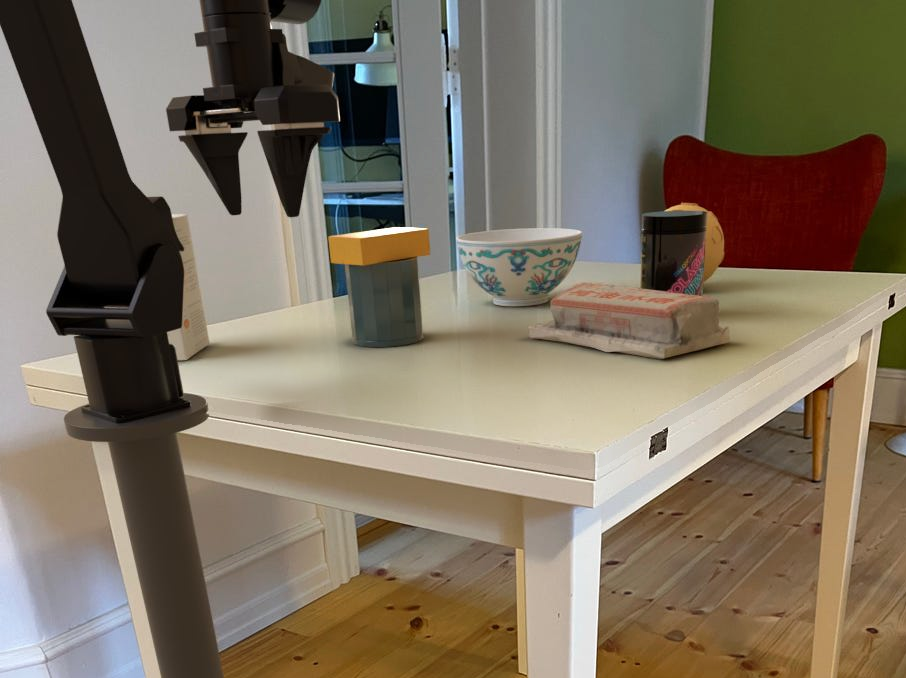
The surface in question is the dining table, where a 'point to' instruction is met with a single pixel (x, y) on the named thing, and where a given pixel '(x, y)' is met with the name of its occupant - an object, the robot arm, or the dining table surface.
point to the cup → (385, 303)
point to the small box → (189, 299)
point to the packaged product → (633, 320)
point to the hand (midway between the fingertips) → (263, 215)
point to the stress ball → (708, 239)
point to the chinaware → (519, 262)
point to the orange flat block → (379, 246)
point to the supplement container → (673, 251)
